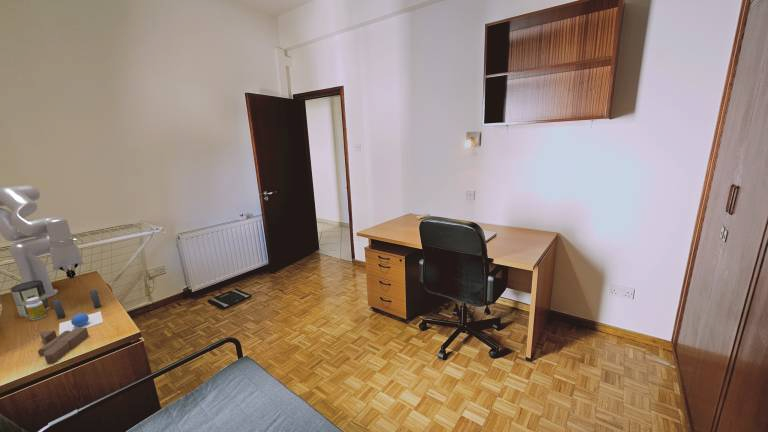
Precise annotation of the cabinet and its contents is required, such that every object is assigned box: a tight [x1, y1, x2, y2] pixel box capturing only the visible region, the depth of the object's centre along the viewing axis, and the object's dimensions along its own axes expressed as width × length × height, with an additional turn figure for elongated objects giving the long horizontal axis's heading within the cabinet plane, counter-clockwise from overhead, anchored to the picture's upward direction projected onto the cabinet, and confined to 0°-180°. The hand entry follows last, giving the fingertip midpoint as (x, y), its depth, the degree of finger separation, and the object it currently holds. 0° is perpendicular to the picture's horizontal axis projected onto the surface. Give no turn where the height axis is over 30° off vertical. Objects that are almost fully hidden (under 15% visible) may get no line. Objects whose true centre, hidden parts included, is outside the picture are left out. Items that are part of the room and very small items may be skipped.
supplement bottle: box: [26, 297, 47, 321], centre depth 143 cm, size 5×5×10 cm
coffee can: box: [9, 280, 51, 317], centre depth 149 cm, size 10×10×14 cm
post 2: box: [89, 289, 102, 309], centre depth 152 cm, size 3×3×9 cm
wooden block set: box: [37, 328, 90, 365], centre depth 120 cm, size 17×6×18 cm
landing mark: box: [58, 310, 104, 336], centre depth 139 cm, size 14×14×1 cm
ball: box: [70, 312, 89, 327], centre depth 137 cm, size 6×6×6 cm
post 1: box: [51, 298, 66, 320], centre depth 143 cm, size 3×3×9 cm
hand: (72, 277), depth 154 cm, fingers closed
